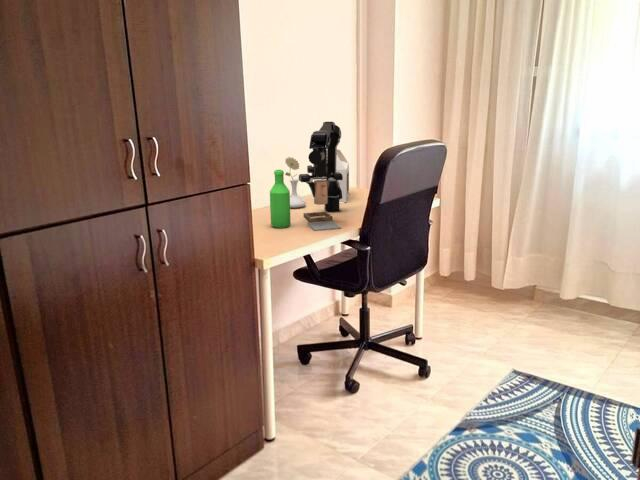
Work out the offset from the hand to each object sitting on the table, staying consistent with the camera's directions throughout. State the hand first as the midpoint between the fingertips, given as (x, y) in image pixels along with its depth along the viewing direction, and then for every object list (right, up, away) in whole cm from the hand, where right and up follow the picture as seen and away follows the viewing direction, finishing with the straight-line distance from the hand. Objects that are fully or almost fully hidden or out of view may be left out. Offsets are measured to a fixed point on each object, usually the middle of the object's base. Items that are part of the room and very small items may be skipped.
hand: (320, 196), depth 251 cm
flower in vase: (-14, -2, +37) cm, 40 cm away
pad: (+1, -13, -1) cm, 13 cm away
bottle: (-18, -13, +1) cm, 22 cm away
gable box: (+8, +3, +54) cm, 54 cm away
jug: (0, -3, +1) cm, 3 cm away
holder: (-1, -9, +12) cm, 16 cm away
